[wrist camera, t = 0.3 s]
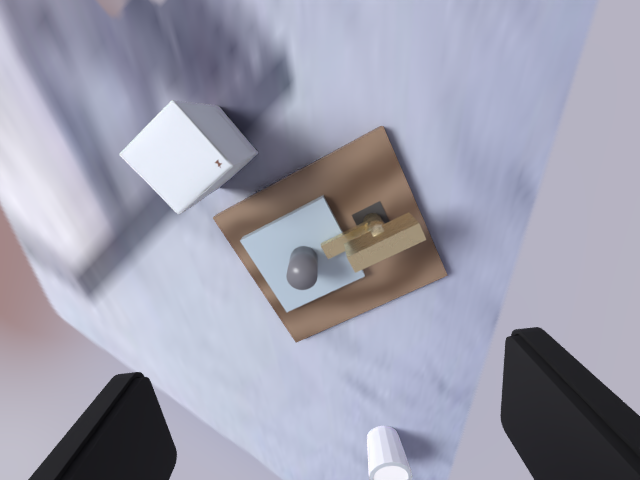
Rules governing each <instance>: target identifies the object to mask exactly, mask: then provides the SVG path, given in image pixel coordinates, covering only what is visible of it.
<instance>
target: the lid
mask: <svg viewBox="0 0 640 480" xmlns="http://www.w3.org/2000/svg"><path fill="white" fill-rule="evenodd" d="M341 233H343V231H342V230H341V228H340V226H339V224H338V222H337V220H336V218H335V216H334V214H333V213H332V211H331V209H330V207H329V205H328V203H327V201H326V199H325V197H324V196H321V197H319V198H317V199H315V200H313V201H311V202H309V203H307V204H305V205H303V206H301V207H299V208H297V209H296V210H294V211H292V212H290V213H288V214H286V215H284V216H282V217H280V218H278V219H276V220H274V221H272V222H270V223H268V224H267V225H265V226H263V227H261V228H259V229H257V230H255V231H253V232H251V233H249V234H247V235H245V236H243V237H242V239H241V240H240V242H241V243H242V245H243V246H244V248H245V249H246V251H247V252H248V254H249V255H250V257H251V259H252V260H253V262H254V263H255V265H256V266H257V268H258V269H259V271H260V272H261V274H262V275H263V277H264V278H265V280H266V281H267V283H268V285H269V286H270V288H271V289H272V291H273V292H274V294H275V295H276V297H277V298H278V300H279V301H280V303H281V304H282V306H283V307H284V309H285V310H286V312H289V311H291V310H293V309H295V308H297V307H300V306H302V305H304V304H306V303H308V302H310V301H313V300H315V299H317V298H319V297H321V296H323V295H326V294H328V293H330V292H332V291H334V290H336V289H339V288H341V287H343V286H345V285H347V284H349V283H352V282H354V281H356V280H358V279H360V278H362V277H365V274H364V271H363V270H360V271H358V272H356V273H355V272H354V270H353V268H352V266H351V264H350V263H349V261H348V259H347V256H346V251H344V252H342V253H340V254H338V255H336V256H334V257H332V258H330V259H328V258H327V257H326V255H325V253H324V251H323V249H322V248H321V243H323V242H325V241H327V240H329V239H331V238H333V237H335V236H337V235H339V234H341Z"/></svg>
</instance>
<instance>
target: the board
mask: <svg viewBox="0 0 640 480" xmlns="http://www.w3.org/2000/svg"><path fill="white" fill-rule="evenodd" d="M321 196H324V197H325V199H326V201H327V203H328V205H329V207H330V209H331V211H332V213H333V214H334V216H335V218H336V220H337V222H338V224H339V226H340V228H341V230H342V231H343V232H345V231H347V230H349V229H351V228H353V227H355V226H357V225H359V224H361V223H363V220H364V218H365V216H366V215H368V214H370V213H376V214H378V215H379V216H380V217H381V219H382V220H383V222H384V223H387V222H390V221H392V220H394V219H396V218H398V217H400V216H402V215H404V214H406V213H408V212H409V213H410V214H411V215H412V216H413V217H414V218H415V219H416V220H417V221H418V222H419V224H420V226H421V228H422V231H423V233H424V235H425V237H426V240H425V241H423V242H421V243H418V244H416V245H414V246H412V247H410V248H408V249H406V250H403V251H401V252H399V253H397V254H395V255H393V256H390V257H388V258H386V259H384V260H382V261H380V262H378V263H375V264H373V265H371V266H369V267H367V268H365V269H363V271H364V274H365V277H362V278H360V279H358V280H356V281H354V282H352V283H349V284H347V285H345V286H343V287H341V288H339V289H336V290H334V291H332V292H330V293H328V294H326V295H323V296H321V297H319V298H317V299H315V300H313V301H310V302H308V303H306V304H304V305H302V306H300V307H297V308H295V309H293V310H291V311H289V312H286V310H285V309H284V307H283V306H282V304H281V303H280V301H279V300H278V298H277V297H276V295H275V294H274V292H273V291H272V289H271V288H270V286H269V285H268V283H267V281H266V280H265V278H264V277H263V275H262V274H261V272H260V271H259V269H258V268H257V266H256V265H255V263H254V262H253V260H252V259H251V257H250V255H249V254H248V252H247V251H246V249H245V248H244V246H243V245H242V243H241V242H240V240H241V239H242V237H243V236H245V235H247V234H249V233H251V232H253V231H255V230H257V229H259V228H261V227H263V226H265V225H267V224H268V223H270V222H272V221H274V220H276V219H278V218H280V217H282V216H284V215H286V214H288V213H290V212H292V211H294V210H296V209H297V208H299V207H301V206H303V205H305V204H307V203H309V202H311V201H313V200H315V199H317V198H319V197H321ZM213 219H214V221H215V222H216V224H217V225H218V227H219V228H220V230H221V231H222V233H223V234H224V236H225V237H226V239H227V240H228V242H229V243H230V245H231V246H232V248H233V249H234V251H235V252H236V254H237V255H238V257H239V258H240V260H241V261H242V263H243V264H244V265H245V267H246V268H247V270H248V271H249V273H250V274H251V276H252V277H253V279H254V280H255V282H256V283H257V285H258V286H259V288H260V289H261V291H262V292H263V294H264V295H265V297H266V298H267V300H268V301H269V303H270V304H271V306H272V307H273V309H274V310H275V312H276V313H277V315H278V316H279V318H280V319H281V321H282V322H283V324H284V325H285V327H286V328H287V330H288V331H289V333H290V334H291V336H292V337H293V339H294V340H295V342H298V341H301V340H303V339H305V338H307V337H310V336H312V335H314V334H316V333H319V332H321V331H323V330H326V329H328V328H330V327H332V326H335V325H337V324H339V323H341V322H344V321H346V320H348V319H350V318H353V317H355V316H357V315H359V314H362V313H364V312H366V311H368V310H371V309H373V308H375V307H378V306H380V305H382V304H384V303H387V302H389V301H391V300H393V299H396V298H398V297H400V296H402V295H405V294H407V293H409V292H411V291H414V290H416V289H418V288H420V287H423V286H425V285H427V284H429V283H432V282H434V281H436V280H439V279H441V278H443V277H445V276H448V275H447V273H446V271H445V268H444V266H443V264H442V261H441V259H440V257H439V254H438V252H437V250H436V247H435V245H434V243H433V240H432V238H431V236H430V233H429V231H428V229H427V227H426V224H425V222H424V220H423V217H422V215H421V213H420V210H419V208H418V206H417V203H416V201H415V199H414V196H413V194H412V192H411V189H410V187H409V185H408V183H407V180H406V178H405V176H404V173H403V171H402V169H401V166H400V164H399V162H398V159H397V157H396V155H395V152H394V150H393V148H392V145H391V143H390V141H389V139H388V136H387V134H386V132H385V129H384V127H383V126H380V127H378V128H376V129H374V130H372V131H371V132H369V133H367V134H365V135H363V136H361V137H359V138H358V139H356V140H354V141H352V142H350V143H348V144H346V145H345V146H343V147H341V148H339V149H337V150H335V151H333V152H332V153H330V154H328V155H326V156H324V157H322V158H320V159H319V160H317V161H315V162H313V163H311V164H309V165H307V166H306V167H304V168H302V169H300V170H298V171H296V172H294V173H293V174H291V175H289V176H287V177H285V178H283V179H282V180H280V181H278V182H276V183H274V184H272V185H270V186H269V187H267V188H265V189H263V190H261V191H259V192H257V193H256V194H254V195H252V196H250V197H248V198H246V199H244V200H243V201H241V202H239V203H237V204H235V205H233V206H231V207H230V208H228V209H226V210H224V211H222V212H220V213H218V214H217V215H215V216H214V217H213Z"/></svg>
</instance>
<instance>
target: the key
mask: <svg viewBox="0 0 640 480" xmlns="http://www.w3.org/2000/svg"><path fill="white" fill-rule="evenodd" d="M425 240H426V237H425V235H424V233H423V231H422V228H421V226H420V224H419V222H418V221H417V220H416V219H415V218H414V217H413V216H412V215H411V214H410V213H409V212H408V213H406V214H404V215H402V216H400V217H398V218H396V219H394V220H392V221H390V222H387V223H384V222H383V220H382V219H381V217H380V216H379V215H378V214H376V213H370V214H368V215H366V216H365V218H364V220H363V223H361V224H359V225H357V226H355V227H353V228H351V229H349V230H347V231H345V232H343V233H341V234H339V235H337V236H335V237H333V238H331V239H329V240H327V241H325V242H323V243H321V248H322V249H323V251H324V253H325V255H326V257H327V258H328V259H330V258H332V257H334V256H336V255H338V254H340V253H342V252H344V251H346V256H347V259H348V261H349V263H350V264H351V266H352V268H353V270H354V272H355V273H356V272H358V271H360V270H363V269H365V268H367V267H369V266H371V265H373V264H375V263H378V262H380V261H382V260H384V259H386V258H388V257H390V256H393V255H395V254H397V253H399V252H401V251H403V250H406V249H408V248H410V247H412V246H414V245H416V244H418V243H421V242H423V241H425Z"/></svg>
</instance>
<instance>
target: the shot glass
mask: <svg viewBox="0 0 640 480" xmlns="http://www.w3.org/2000/svg"><path fill="white" fill-rule="evenodd" d="M367 449H368V468H369V480H411V479H412V471H411V468H410V466H409V463H408V460H407V457H406V454H405V452H404V449H403V446H402V443H401V440H400V438H399V435H398V433H397V431H396V430H395V429H394V428H392V427H389V426H378V427H376V428H373V429H372V430H371V431H370V432H369V433H368V435H367Z"/></svg>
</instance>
